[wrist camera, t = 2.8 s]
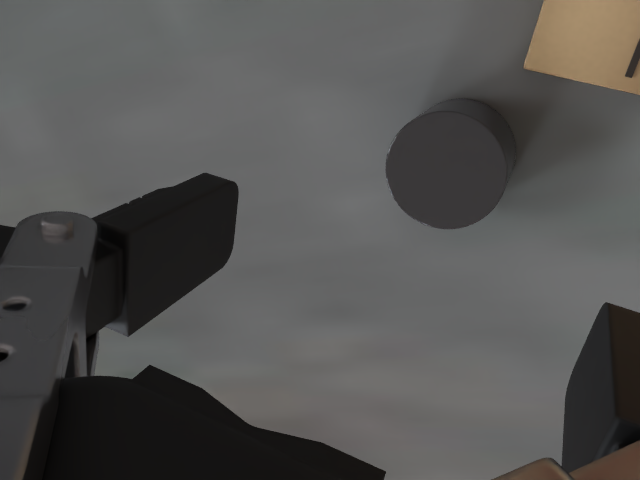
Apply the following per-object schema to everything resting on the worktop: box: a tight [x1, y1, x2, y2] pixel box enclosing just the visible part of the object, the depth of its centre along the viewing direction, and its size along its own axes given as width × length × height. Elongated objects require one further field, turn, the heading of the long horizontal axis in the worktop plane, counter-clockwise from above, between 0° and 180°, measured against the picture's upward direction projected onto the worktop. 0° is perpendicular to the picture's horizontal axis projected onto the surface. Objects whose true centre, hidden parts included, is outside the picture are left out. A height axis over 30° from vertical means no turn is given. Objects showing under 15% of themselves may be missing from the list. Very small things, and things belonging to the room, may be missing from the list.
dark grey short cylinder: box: [386, 98, 516, 229], centre depth 23 cm, size 5×5×3 cm
